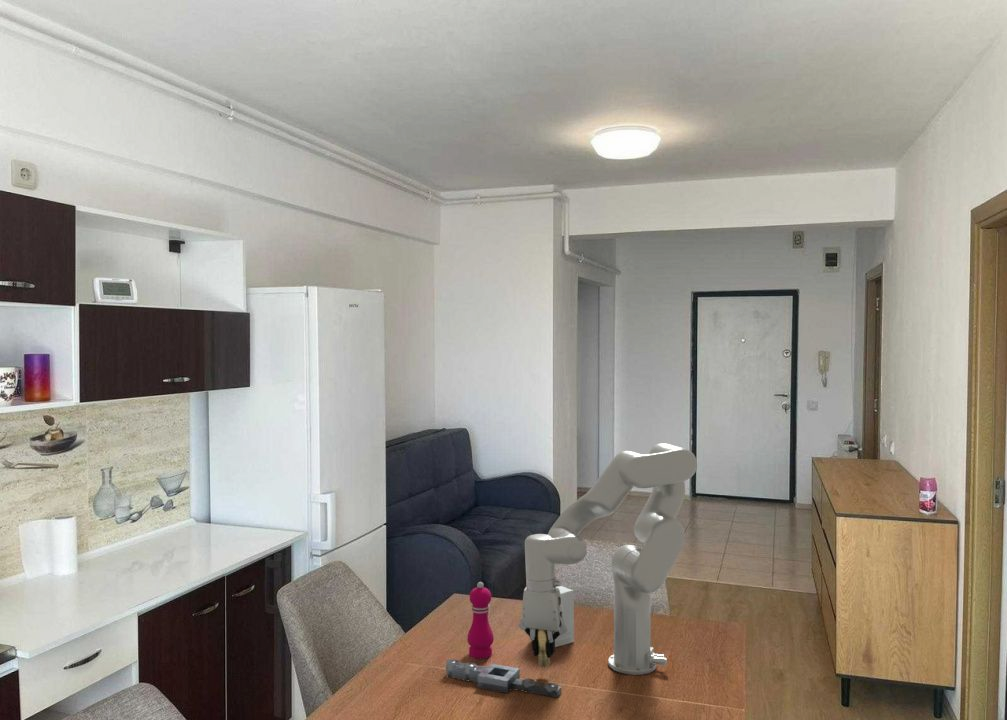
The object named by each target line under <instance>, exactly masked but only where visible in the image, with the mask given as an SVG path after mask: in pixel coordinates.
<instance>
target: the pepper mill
mask: <svg viewBox="0 0 1007 720" xmlns="http://www.w3.org/2000/svg"><path fill="white" fill-rule="evenodd" d="M491 601H492V593H491V591H490V590H489V589H488V588H487V587H484V583H483V582H482V581H479V582H477V584H476V587H474V588H472V589H471V591H470V593H469V602H470V603H471V610H470V611H471V612H472V622H471V624H470V625H471V626H470V628H469V630H468V633H467V637H466V641H467V643H468V645H469V646H470V647H469V648H468V654H469V657H471V658H472V659H476V658H477V659H476V660H481V659H480V658H485V659H487V658H490V657H492V655H493V647H492V644H493V642H494V640H495V639H494V631H493V630H492V627H491V625H490V622H489V617H488V616H489V612H490V603H491Z"/></svg>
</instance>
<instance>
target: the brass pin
mask: <svg viewBox="0 0 1007 720" xmlns="http://www.w3.org/2000/svg"><path fill="white" fill-rule="evenodd" d="M537 641H538V655H537V658H538V662H537V663H538V667H540V668H548V667H550V666H551V658H548V657H547V642H548V632H547V630H540V629H537Z"/></svg>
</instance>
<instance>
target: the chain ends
mask: <svg viewBox="0 0 1007 720" xmlns="http://www.w3.org/2000/svg"><path fill="white" fill-rule="evenodd" d="M445 673H446V674H445V677H446V676H448V677H454V678H459V679H458V680H460V679H464V680H463V681H465V680H469V681H468V682H470V681H473V682H472V683H476V682H478V683H477V689H482V688H484V689H483V690H487V689H488V690H489V691H492V690H494V691H493V692H497V691H499V693H503V692H505V693H504V694H508V693H510V691H511V690H513V689H517V690H516V691H518V690H523V691H527V692H526V693H529V692H532V693H531V694H534V693H536V694H535V695H539V694H542V695H541V696H545V695H547V696H546V697H549V696H550V697H551V698H555V699H557V698H559V697H560V695H561V694H562V686H561V685H558V684H557V683H555V682H547V683H545V682H544V683H543V682H539V681H536V680H535V679H532V678H524V679H523V678H522V679H521V677H520V673H521V671H520V668H518V667H512V666H507V665H502V664H496V663H489V665H488V666H482V665H477V664H476V663H475V662H460V661H459V660H458V659H455V658H453V659H452V658H451V659H447V660H446V662H445ZM448 677H447V678H448ZM454 678H453V679H454ZM510 689H511V690H510ZM488 690H487V691H488ZM509 690H510V691H509ZM523 691H522V692H523Z"/></svg>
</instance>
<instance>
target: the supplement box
mask: <svg viewBox="0 0 1007 720" xmlns="http://www.w3.org/2000/svg"><path fill="white" fill-rule="evenodd" d="M556 588H559V590H560V594H561V599H562V605H563V613H564V623H565V625H566V627H567V629H568V631H567V632H566V633H565V634H562V635H560V636H558V637H557V638H556V639H555V648H557V647H560V646H564V645H568V644H572V643H574V641H575V609H574V608H575V599H574V598H575V594H574V593H575V591H574V590H573V589H570V588H568V587H565V586H563V585H561V586H558V587H556ZM558 630H560V627H559V629H558ZM556 631H557V630H556Z"/></svg>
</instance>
